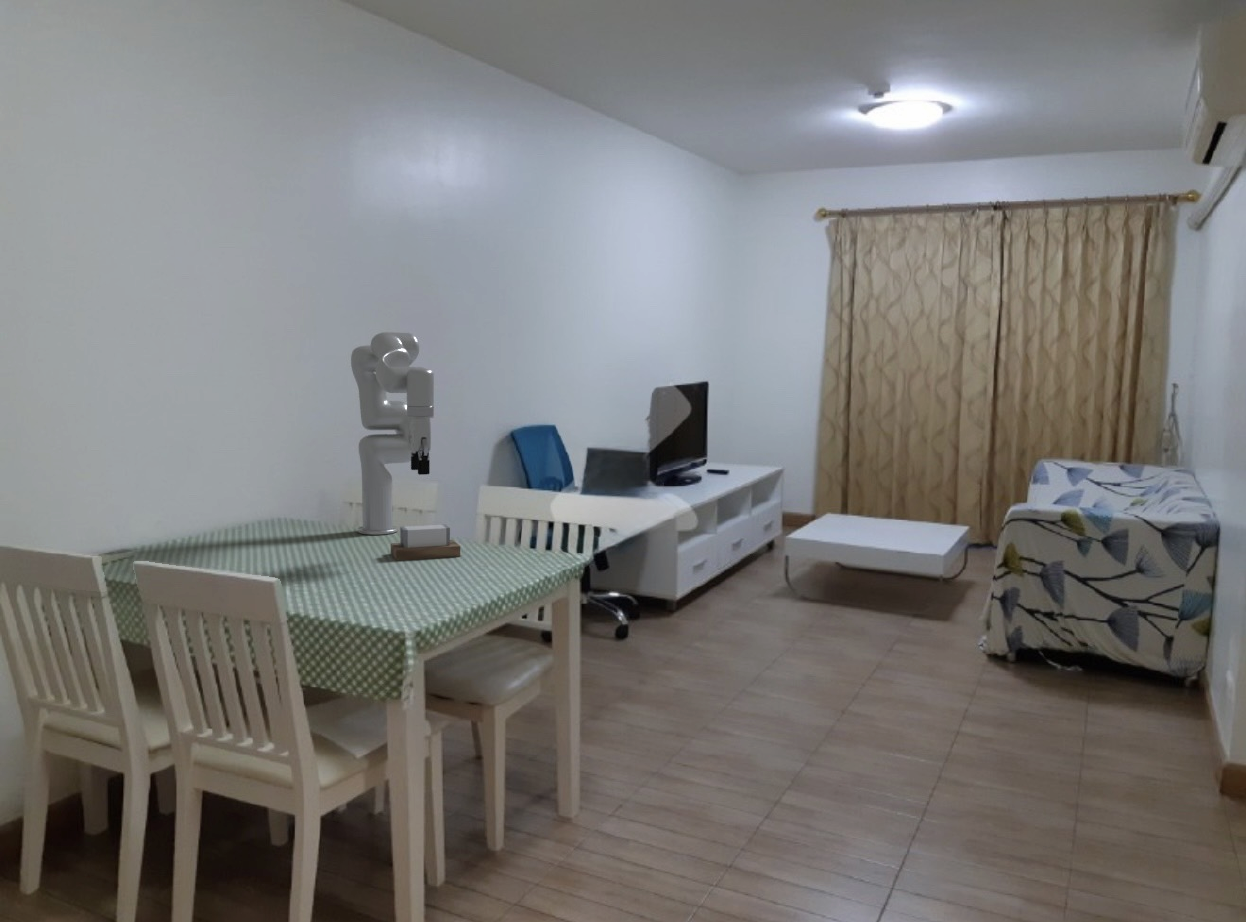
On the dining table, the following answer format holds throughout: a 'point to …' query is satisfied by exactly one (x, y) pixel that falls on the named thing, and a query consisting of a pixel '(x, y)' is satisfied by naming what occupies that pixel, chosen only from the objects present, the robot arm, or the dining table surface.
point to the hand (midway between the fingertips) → (420, 472)
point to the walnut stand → (424, 551)
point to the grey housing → (425, 536)
